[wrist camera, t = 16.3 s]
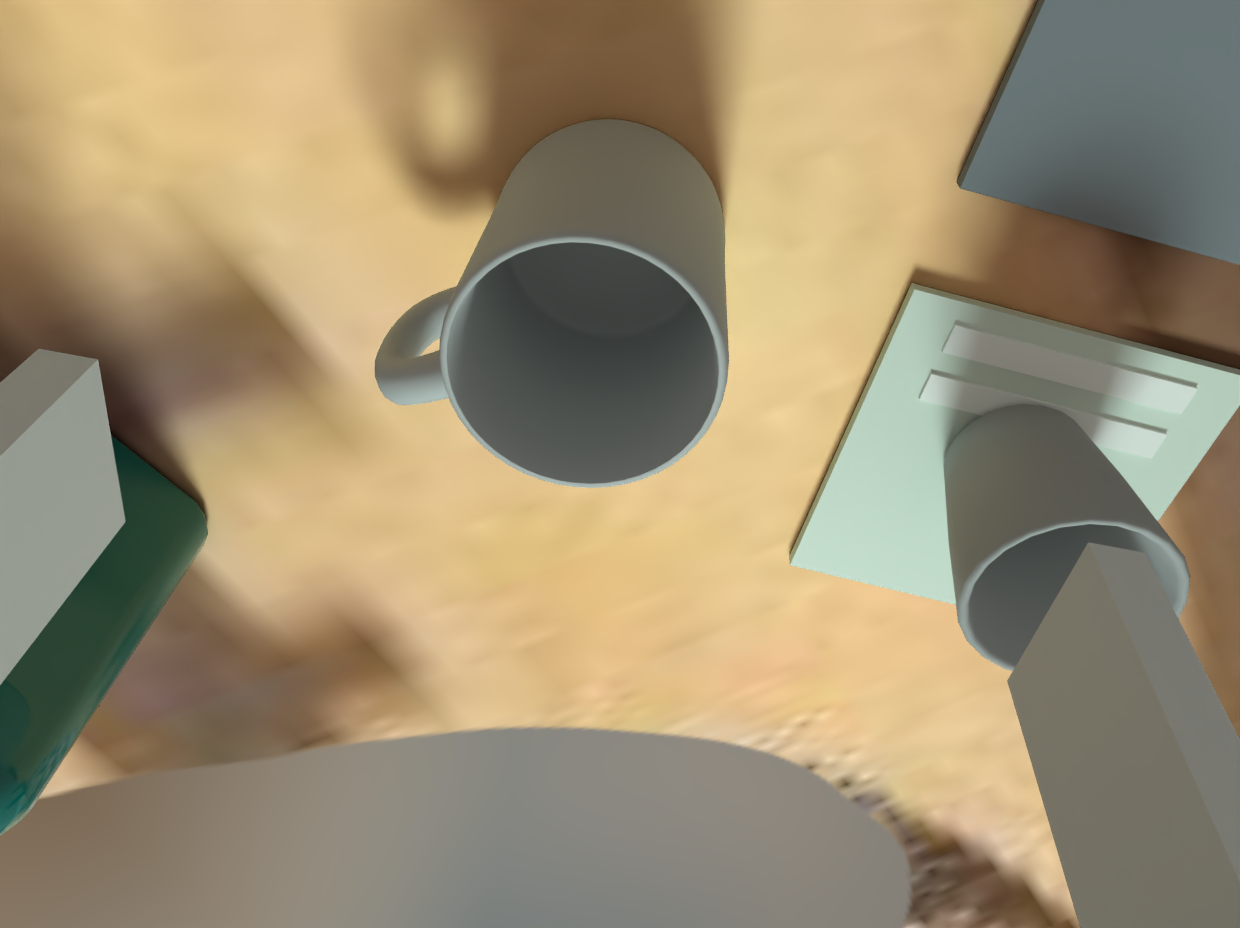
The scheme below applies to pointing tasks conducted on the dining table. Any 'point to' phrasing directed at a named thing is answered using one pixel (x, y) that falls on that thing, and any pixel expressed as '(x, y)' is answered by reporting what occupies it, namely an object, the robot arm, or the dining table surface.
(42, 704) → the green bottle
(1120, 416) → the pad green
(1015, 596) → the cup
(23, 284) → the dining table surface
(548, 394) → the mug
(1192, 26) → the pad slate
